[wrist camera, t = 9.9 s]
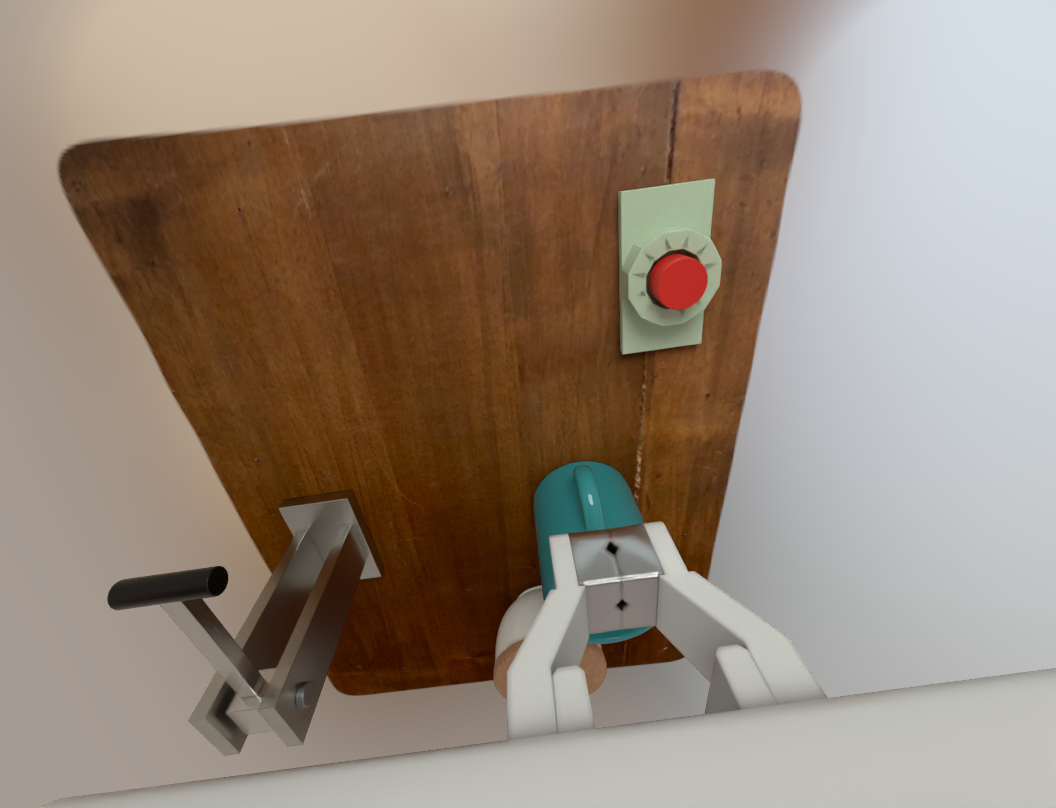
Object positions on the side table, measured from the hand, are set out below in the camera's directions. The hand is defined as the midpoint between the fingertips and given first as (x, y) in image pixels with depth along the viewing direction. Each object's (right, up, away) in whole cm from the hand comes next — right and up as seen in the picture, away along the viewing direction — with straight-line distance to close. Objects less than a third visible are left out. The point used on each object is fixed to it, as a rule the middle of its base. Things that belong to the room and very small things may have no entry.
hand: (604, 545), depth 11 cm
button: (+7, +12, +16) cm, 22 cm away
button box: (+7, +13, +18) cm, 23 cm away
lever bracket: (-20, -9, +28) cm, 35 cm away
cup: (+3, -4, +27) cm, 27 cm away
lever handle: (-20, -10, +14) cm, 26 cm away
